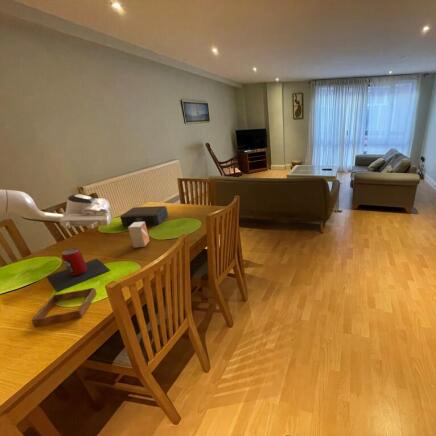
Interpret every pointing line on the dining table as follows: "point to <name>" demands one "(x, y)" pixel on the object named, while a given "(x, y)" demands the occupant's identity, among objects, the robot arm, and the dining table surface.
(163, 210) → the cash box
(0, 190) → the robot arm
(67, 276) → the rubber mat
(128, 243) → the dining table surface
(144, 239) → the small box
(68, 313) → the brown wooden frame
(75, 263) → the beverage can
